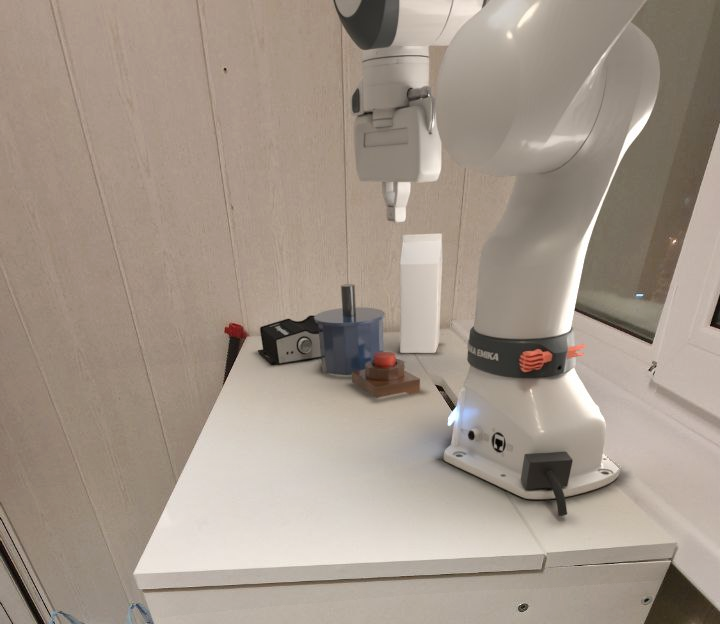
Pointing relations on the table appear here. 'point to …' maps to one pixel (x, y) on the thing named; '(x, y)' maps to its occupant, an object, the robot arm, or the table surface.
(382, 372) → the block
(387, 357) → the button
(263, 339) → the electronic device
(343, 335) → the pot
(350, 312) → the lid
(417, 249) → the milk carton
